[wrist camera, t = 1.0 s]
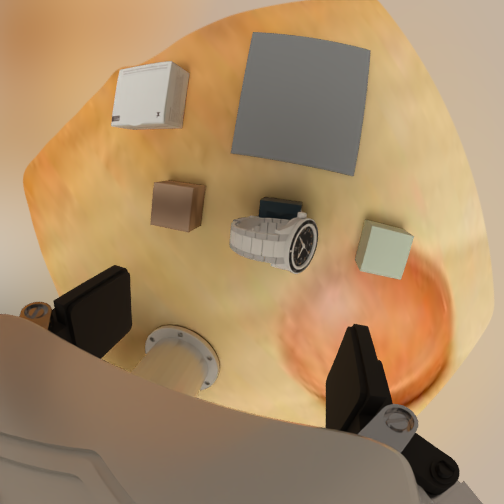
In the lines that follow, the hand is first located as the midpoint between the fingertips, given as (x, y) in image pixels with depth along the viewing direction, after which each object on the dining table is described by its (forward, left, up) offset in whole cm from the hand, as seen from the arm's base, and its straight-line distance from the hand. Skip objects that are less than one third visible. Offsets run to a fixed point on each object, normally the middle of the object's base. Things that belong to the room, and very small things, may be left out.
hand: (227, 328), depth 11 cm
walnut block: (0, +12, -23) cm, 26 cm away
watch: (0, 0, -23) cm, 23 cm away
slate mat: (+15, 0, -23) cm, 27 cm away
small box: (+13, +18, -23) cm, 32 cm away
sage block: (0, -12, -23) cm, 26 cm away
